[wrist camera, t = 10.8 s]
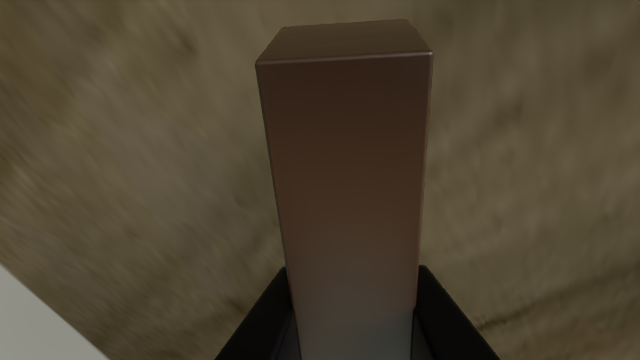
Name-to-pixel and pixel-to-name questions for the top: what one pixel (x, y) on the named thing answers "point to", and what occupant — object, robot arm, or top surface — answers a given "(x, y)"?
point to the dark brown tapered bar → (349, 180)
